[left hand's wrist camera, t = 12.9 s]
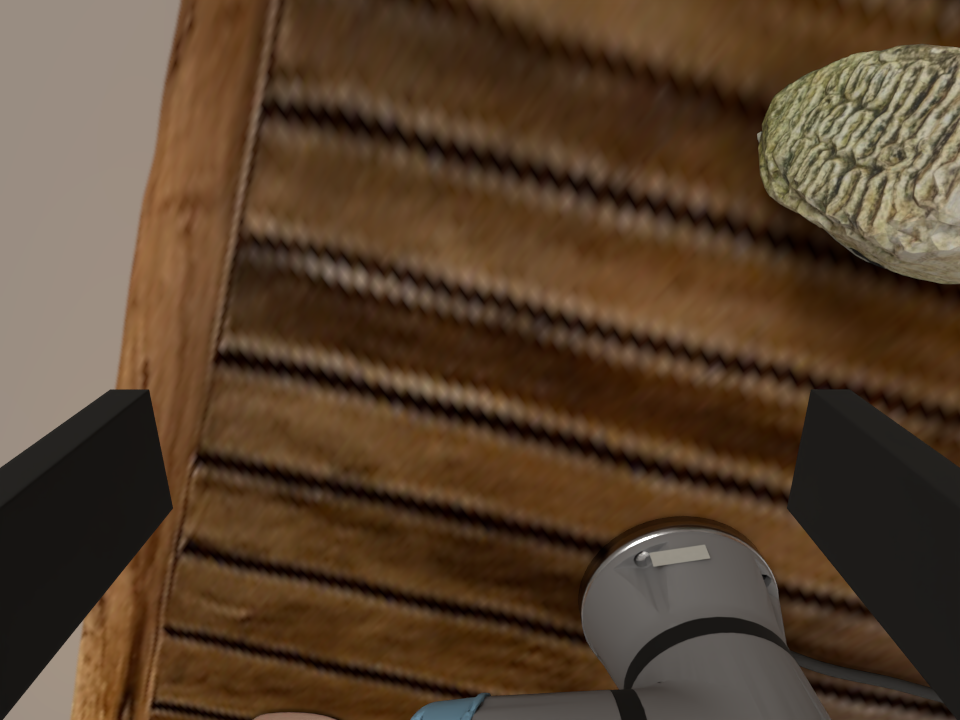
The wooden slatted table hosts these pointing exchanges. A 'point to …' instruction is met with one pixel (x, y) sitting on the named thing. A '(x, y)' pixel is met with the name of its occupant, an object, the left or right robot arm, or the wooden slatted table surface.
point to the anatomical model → (292, 716)
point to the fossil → (874, 156)
